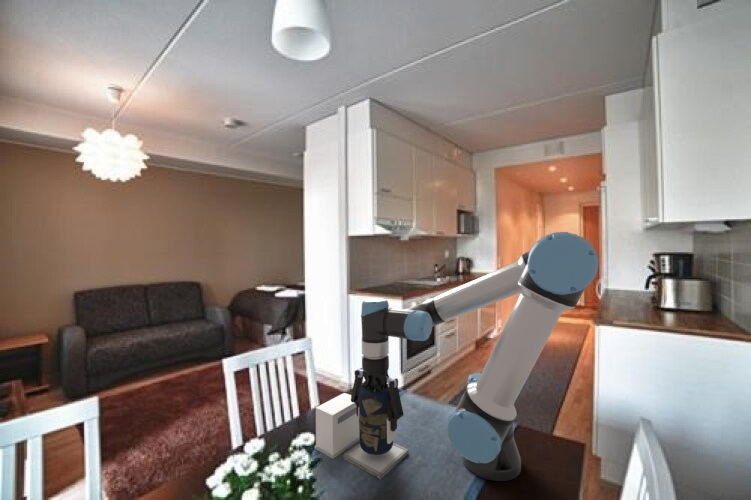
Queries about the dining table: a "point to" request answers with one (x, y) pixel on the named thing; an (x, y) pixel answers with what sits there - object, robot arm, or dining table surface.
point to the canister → (373, 420)
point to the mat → (376, 459)
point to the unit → (336, 425)
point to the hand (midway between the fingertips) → (376, 434)
